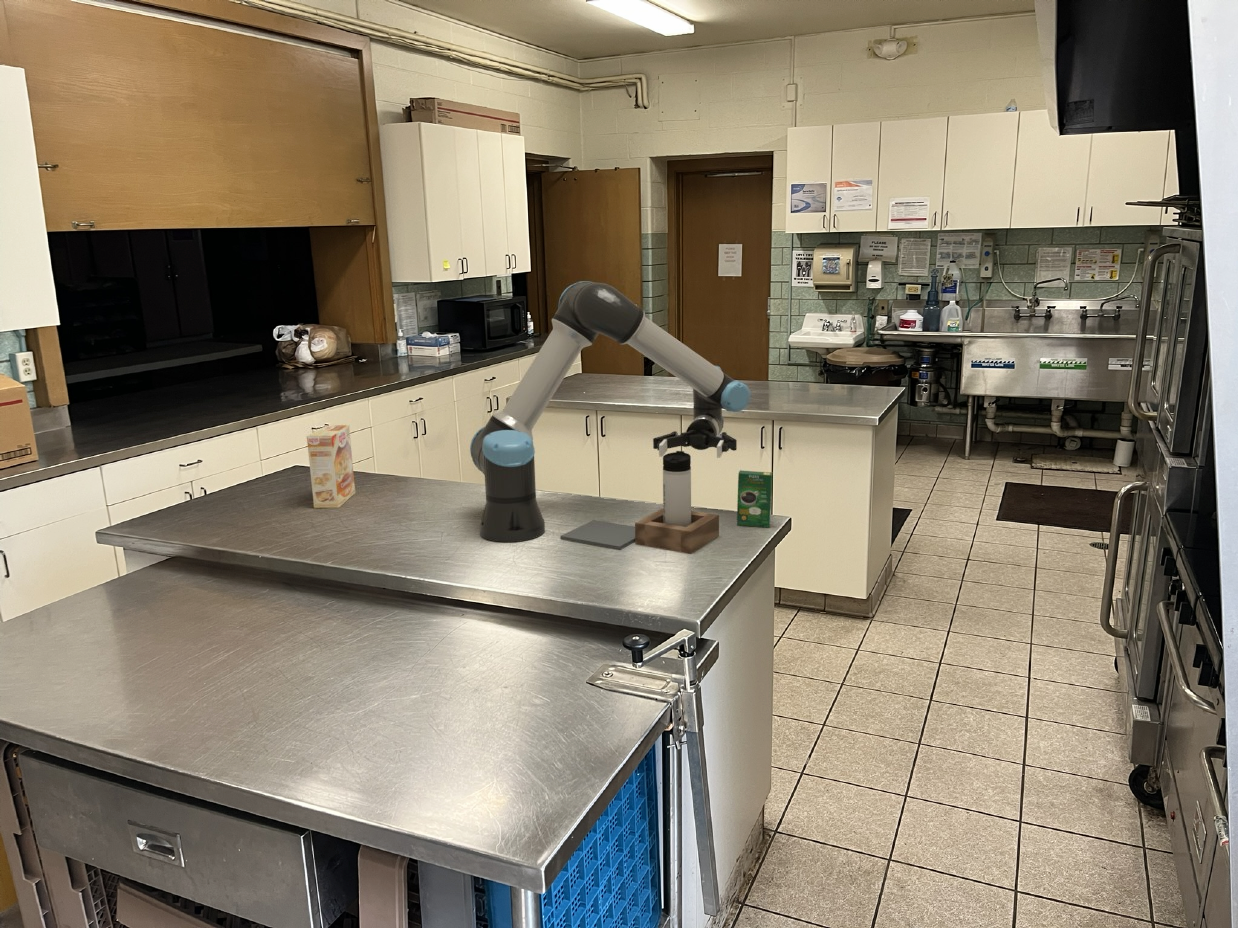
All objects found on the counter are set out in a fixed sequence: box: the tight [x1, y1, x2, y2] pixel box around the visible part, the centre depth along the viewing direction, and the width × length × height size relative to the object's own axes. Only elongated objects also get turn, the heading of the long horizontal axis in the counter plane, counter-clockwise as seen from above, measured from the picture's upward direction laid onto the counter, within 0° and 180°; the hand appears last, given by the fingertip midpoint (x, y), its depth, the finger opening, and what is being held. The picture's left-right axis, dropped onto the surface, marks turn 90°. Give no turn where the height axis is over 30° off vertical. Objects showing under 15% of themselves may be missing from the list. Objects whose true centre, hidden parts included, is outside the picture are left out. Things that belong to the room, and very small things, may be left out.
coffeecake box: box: [306, 424, 356, 509], centre depth 237 cm, size 15×7×20 cm, turn 179°
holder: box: [634, 507, 720, 555], centre depth 199 cm, size 14×14×5 cm
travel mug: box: [662, 450, 692, 527], centre depth 197 cm, size 6×7×20 cm
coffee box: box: [736, 469, 773, 528], centre depth 207 cm, size 8×3×13 cm, turn 74°
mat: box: [559, 519, 635, 551], centre depth 204 cm, size 16×14×1 cm
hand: (689, 451), depth 205 cm, fingers open, 13 cm apart
